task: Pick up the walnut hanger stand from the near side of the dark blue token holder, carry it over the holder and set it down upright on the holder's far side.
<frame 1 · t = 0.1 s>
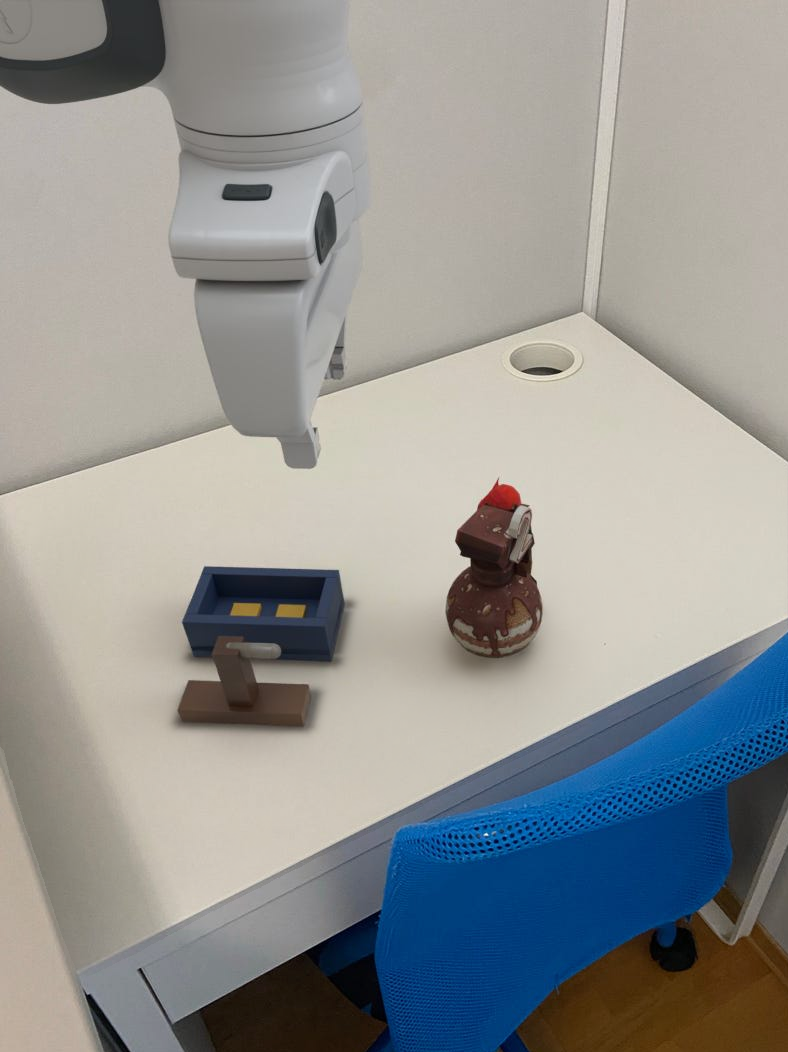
hand: (319, 415, 56), 28 cm above the table, tool pointing down, fingers open, 8 cm apart
hanger: (247, 708, 76), on the table
token holder: (271, 630, 83), on the table
grenade: (497, 638, 82), on the table
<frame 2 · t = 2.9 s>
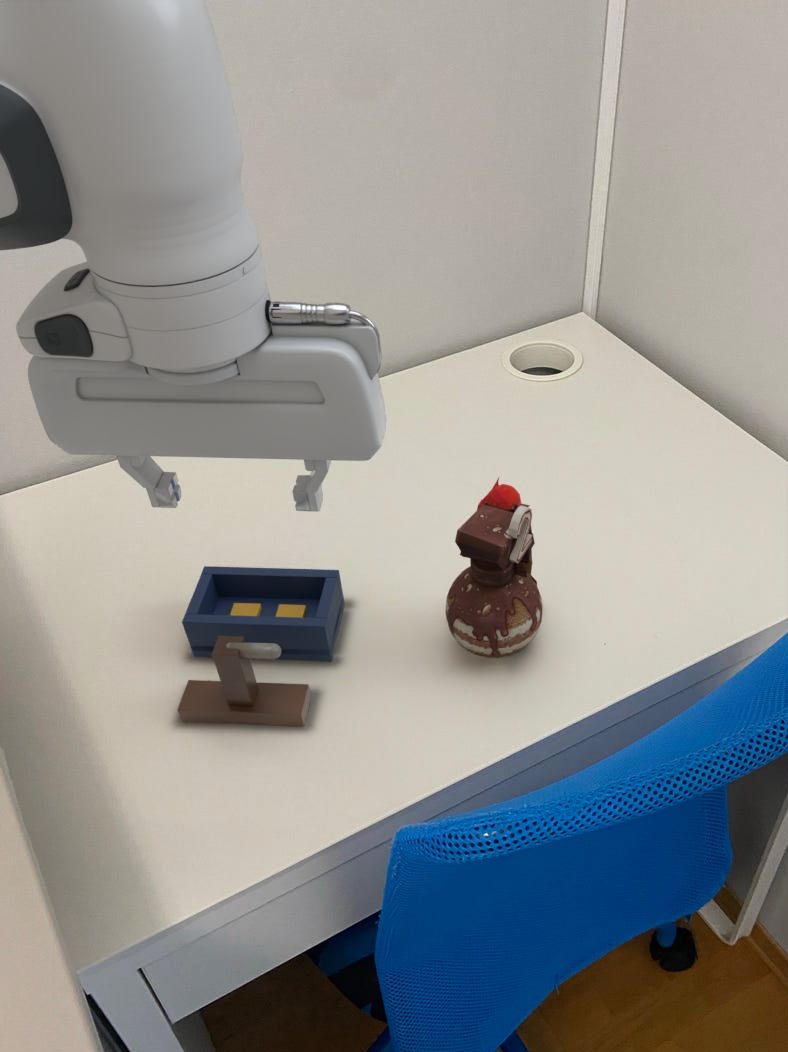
hand: (238, 504, 61), 21 cm above the table, tool pointing down, fingers open, 8 cm apart
nothing on the table moved.
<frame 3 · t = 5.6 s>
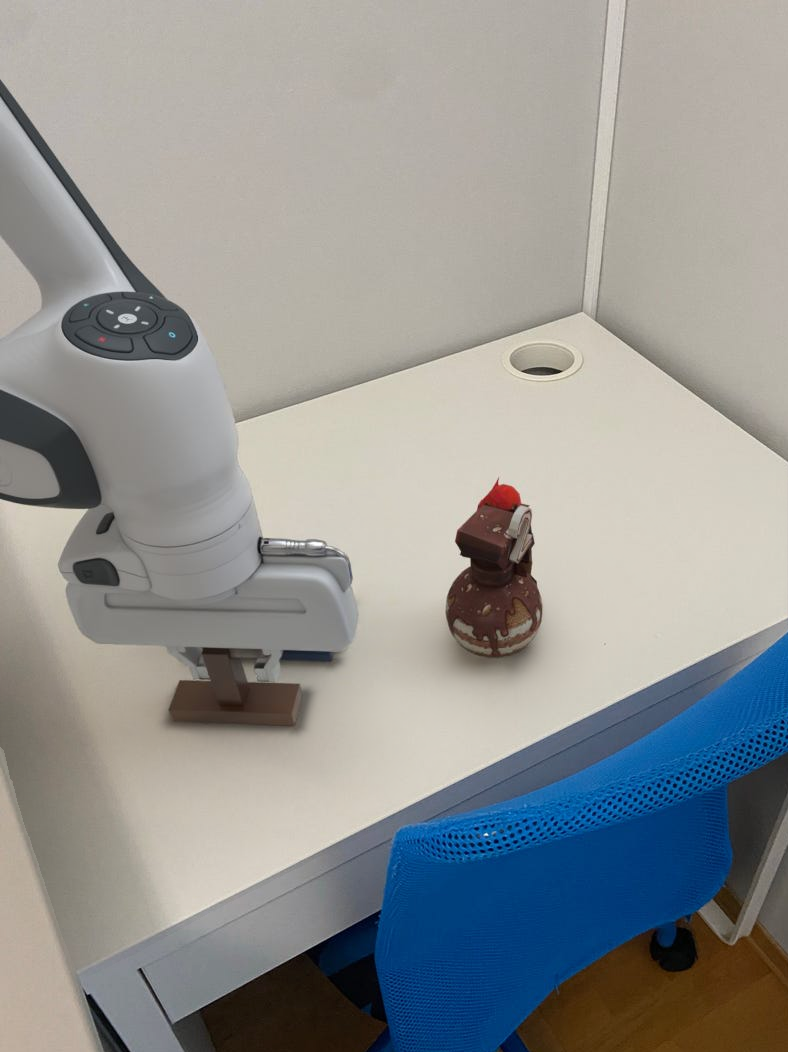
hand: (237, 674, 73), 4 cm above the table, tool pointing down, fingers closed on hanger, 4 cm apart
hanger: (238, 708, 76), on the table, touching gripper
everything else where it was.
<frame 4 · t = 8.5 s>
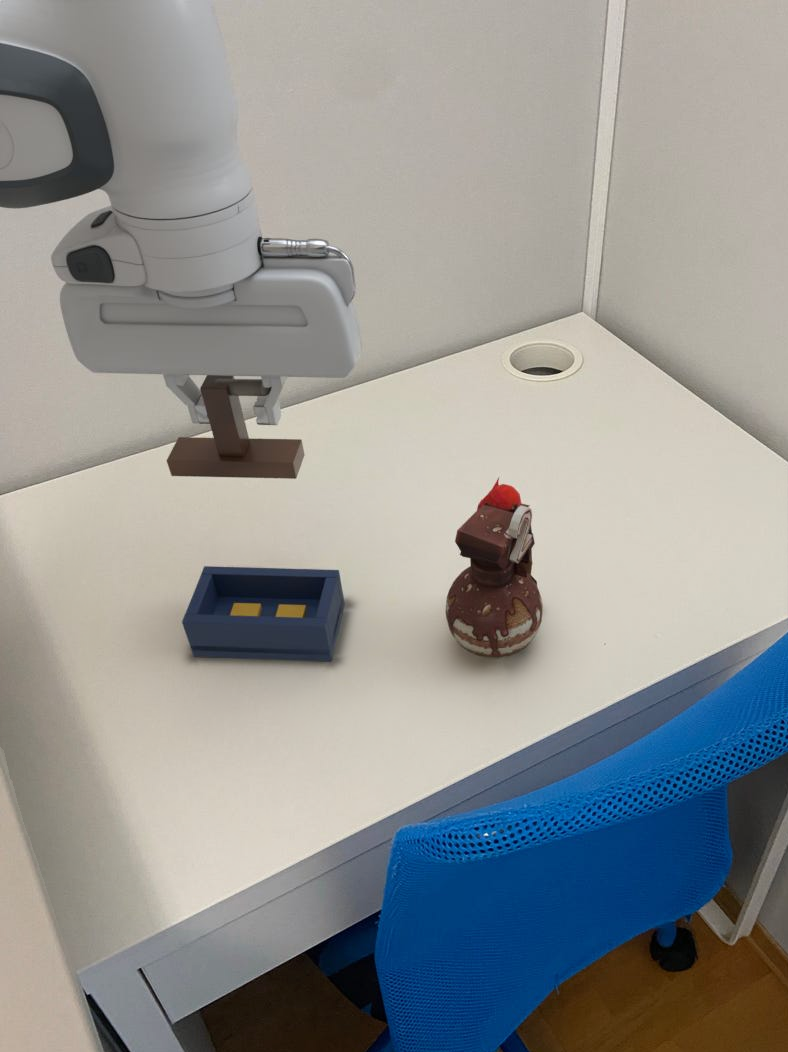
hand: (237, 420, 71), 19 cm above the table, tool pointing down, fingers closed on hanger, 3 cm apart
hanger: (238, 465, 74), point 15 cm above the table, touching gripper
everything else where it was.
when the fingers open (4 cm above the table, at t = 11.7 s): hanger stays where it is, on the table.
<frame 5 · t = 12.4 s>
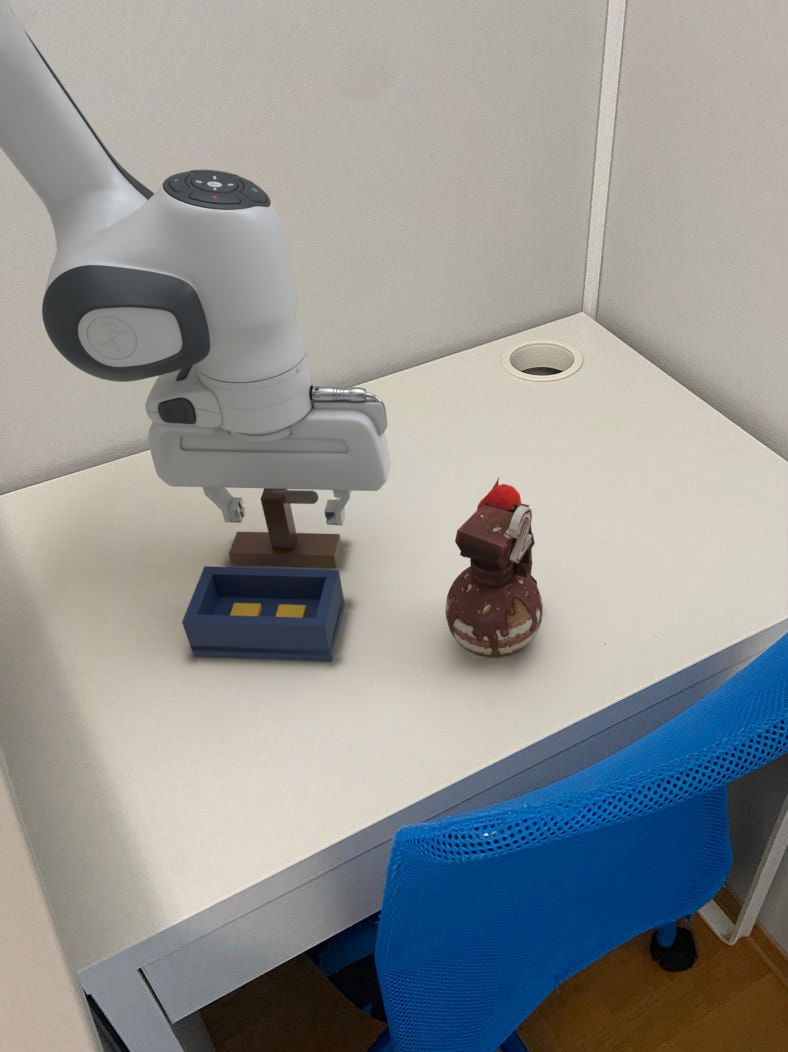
hand: (285, 519, 86), 4 cm above the table, tool pointing down, fingers open, 8 cm apart
hanger: (287, 555, 90), on the table
everything else where it was.
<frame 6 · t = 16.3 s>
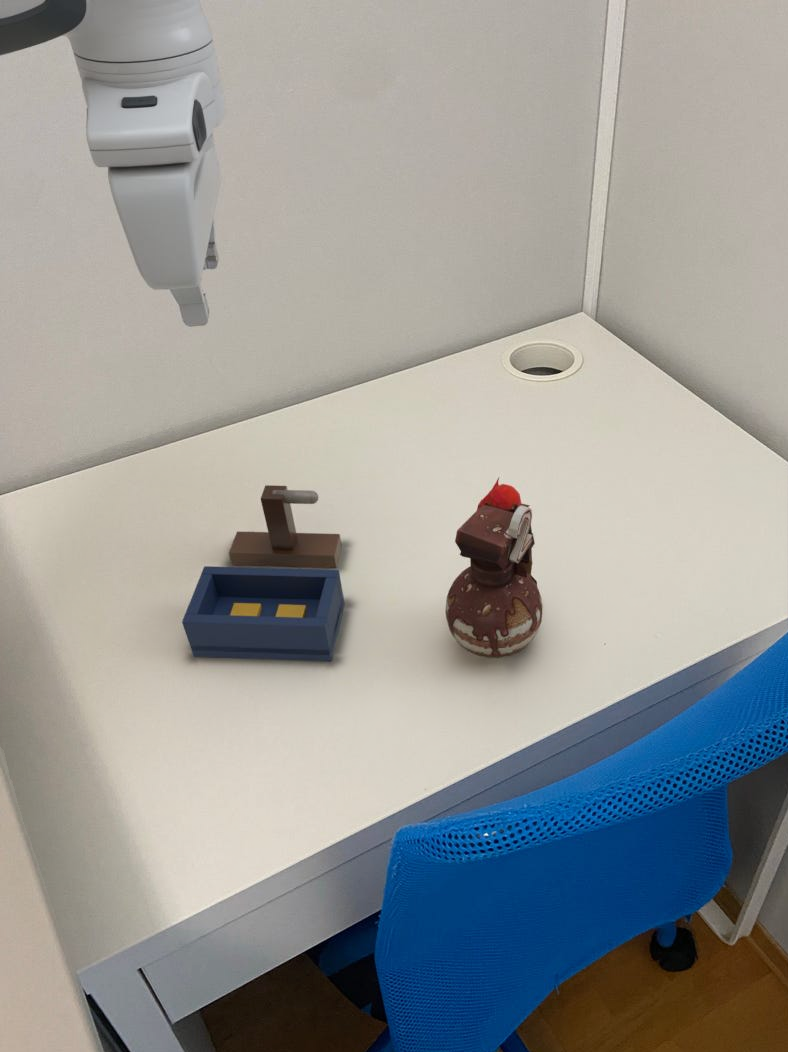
hand: (203, 292, 72), 25 cm above the table, tool pointing down, fingers open, 8 cm apart
nothing on the table moved.
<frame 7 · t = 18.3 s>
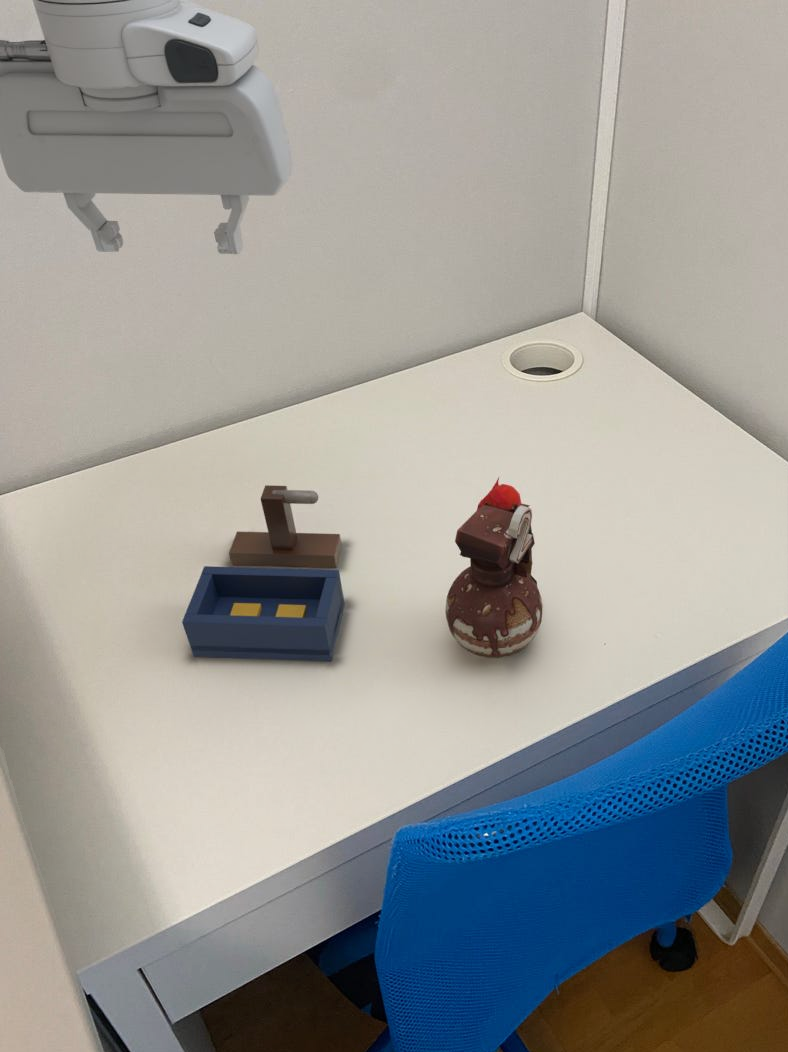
hand: (171, 250, 71), 28 cm above the table, tool pointing down, fingers open, 8 cm apart
nothing on the table moved.
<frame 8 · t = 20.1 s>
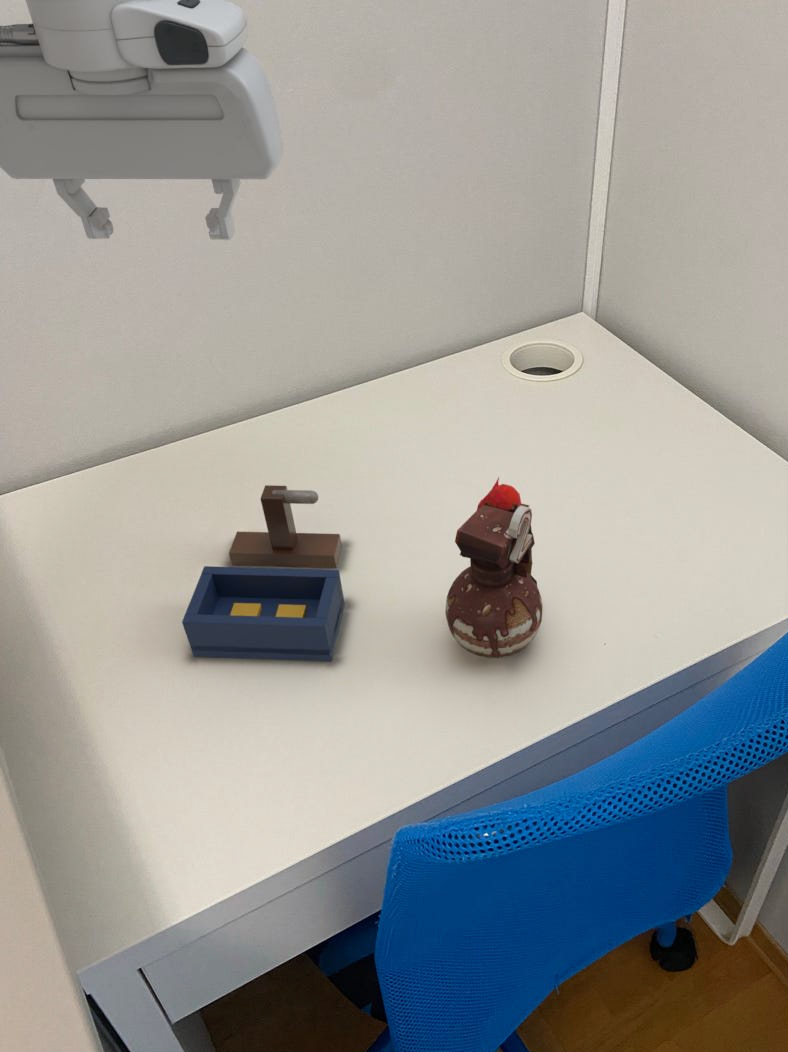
hand: (162, 236, 71), 29 cm above the table, tool pointing down, fingers open, 8 cm apart
nothing on the table moved.
at the end: hanger inside the target area on the table beside the token holder (0.6 cm from its centre), on the table; hanger tilted 0°; the gripper is holding nothing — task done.
